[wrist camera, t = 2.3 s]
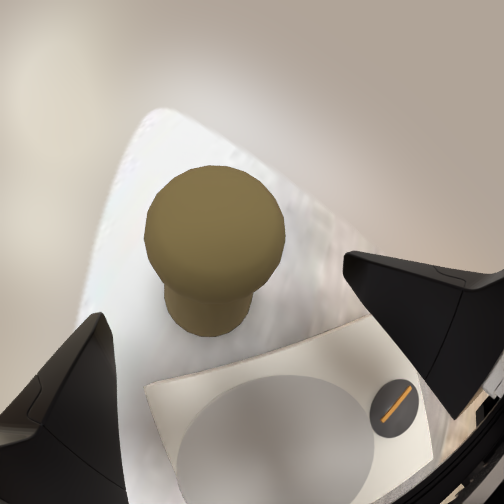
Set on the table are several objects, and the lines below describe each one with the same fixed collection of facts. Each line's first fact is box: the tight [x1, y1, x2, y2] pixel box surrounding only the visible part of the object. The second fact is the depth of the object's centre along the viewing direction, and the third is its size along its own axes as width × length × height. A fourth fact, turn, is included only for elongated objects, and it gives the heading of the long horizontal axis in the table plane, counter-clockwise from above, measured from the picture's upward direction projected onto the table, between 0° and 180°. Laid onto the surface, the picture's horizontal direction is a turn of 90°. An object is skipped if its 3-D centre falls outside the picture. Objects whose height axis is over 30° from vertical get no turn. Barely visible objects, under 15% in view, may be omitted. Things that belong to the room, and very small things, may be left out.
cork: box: [144, 165, 285, 337], centre depth 14 cm, size 6×6×11 cm
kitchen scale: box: [143, 314, 433, 504], centre depth 14 cm, size 13×16×5 cm
